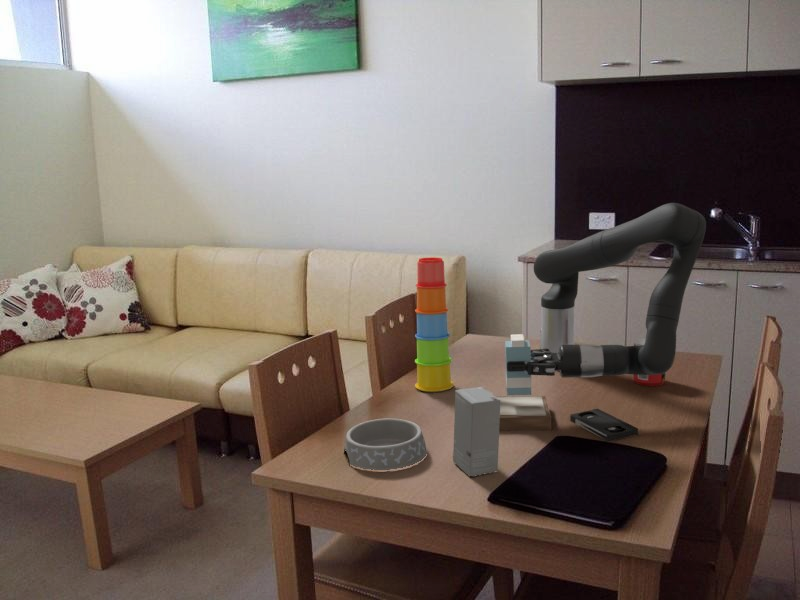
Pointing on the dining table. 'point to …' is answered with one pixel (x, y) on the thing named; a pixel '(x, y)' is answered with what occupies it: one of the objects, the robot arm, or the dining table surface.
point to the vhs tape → (603, 425)
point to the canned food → (648, 379)
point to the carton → (517, 352)
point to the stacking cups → (432, 327)
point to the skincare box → (476, 431)
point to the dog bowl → (385, 444)
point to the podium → (524, 413)
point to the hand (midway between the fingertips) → (506, 362)
